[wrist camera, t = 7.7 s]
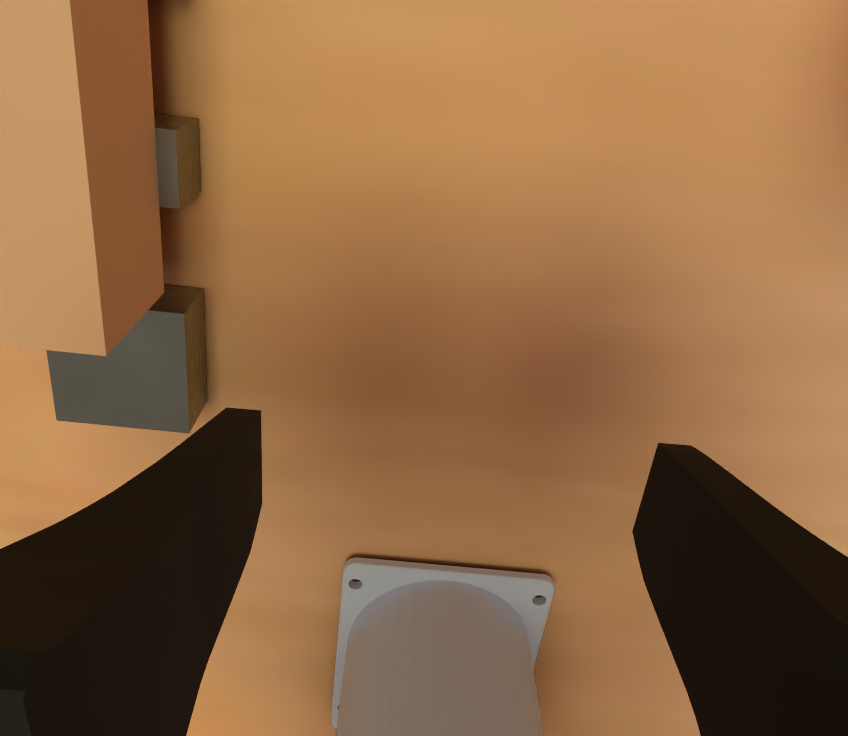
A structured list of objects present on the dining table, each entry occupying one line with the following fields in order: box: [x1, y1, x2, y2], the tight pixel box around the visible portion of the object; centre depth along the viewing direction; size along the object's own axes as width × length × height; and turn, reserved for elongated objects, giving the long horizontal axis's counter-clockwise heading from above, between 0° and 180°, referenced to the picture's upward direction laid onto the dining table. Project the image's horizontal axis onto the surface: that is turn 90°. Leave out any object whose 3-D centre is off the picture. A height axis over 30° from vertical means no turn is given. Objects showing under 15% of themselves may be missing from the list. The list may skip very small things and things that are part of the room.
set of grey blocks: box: [47, 114, 207, 433], centre depth 19 cm, size 16×4×2 cm, turn 173°
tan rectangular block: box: [0, 0, 164, 356], centre depth 17 cm, size 8×3×6 cm, turn 173°
